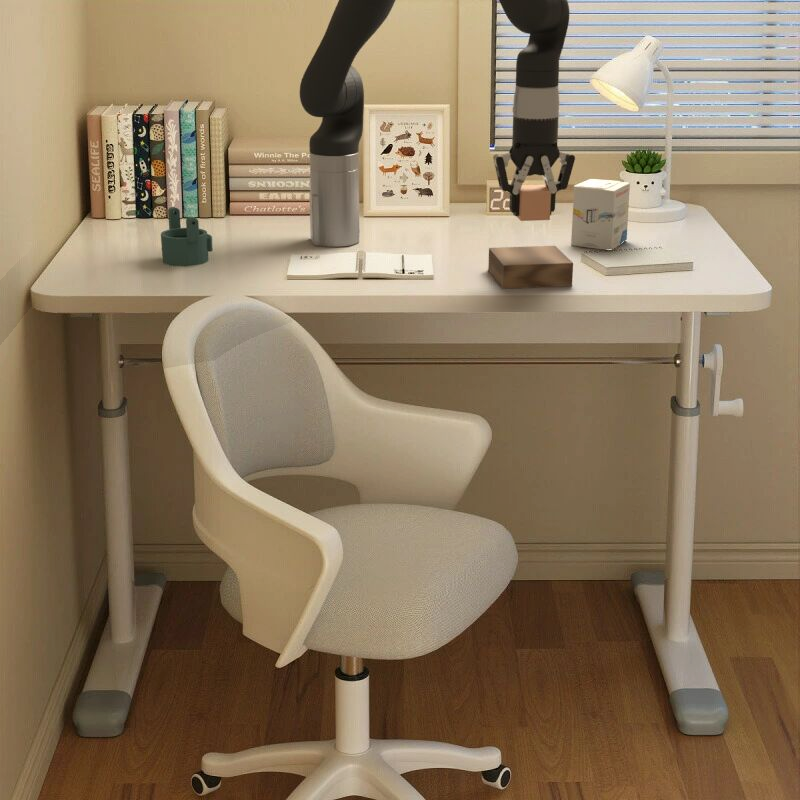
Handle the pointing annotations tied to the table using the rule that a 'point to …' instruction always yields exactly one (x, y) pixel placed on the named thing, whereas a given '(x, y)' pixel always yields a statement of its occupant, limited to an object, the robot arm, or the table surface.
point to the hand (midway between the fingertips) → (532, 214)
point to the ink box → (600, 213)
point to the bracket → (184, 242)
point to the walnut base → (530, 267)
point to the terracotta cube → (534, 203)
